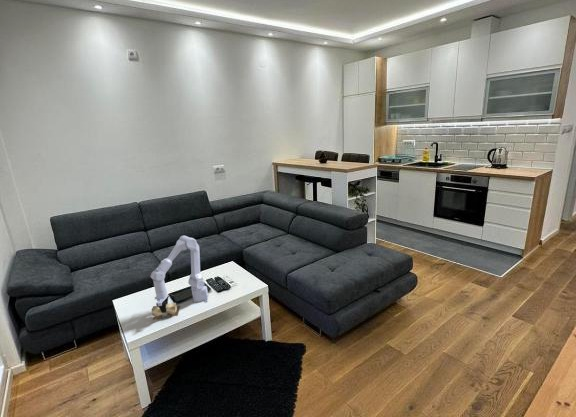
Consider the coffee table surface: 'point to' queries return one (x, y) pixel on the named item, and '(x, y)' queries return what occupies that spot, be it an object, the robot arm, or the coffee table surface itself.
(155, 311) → the beech bar
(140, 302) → the coffee table surface
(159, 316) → the board
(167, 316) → the gray stepped block
